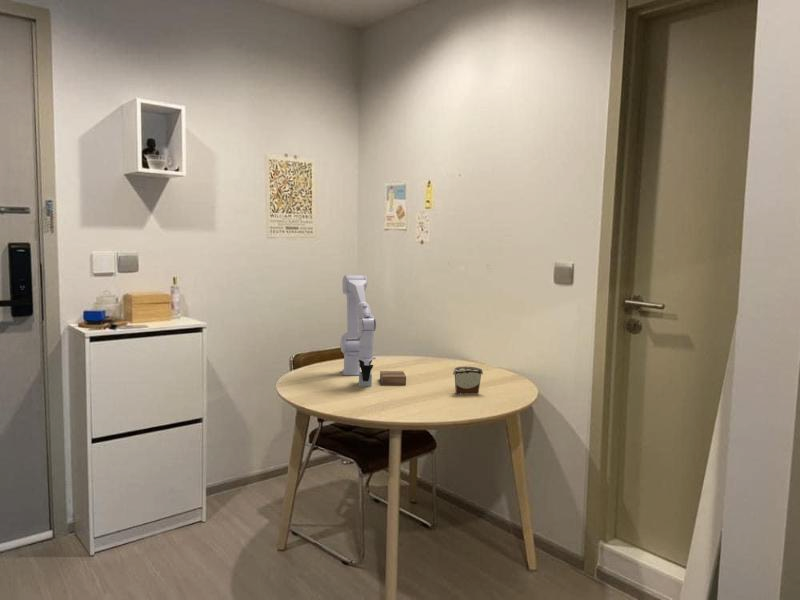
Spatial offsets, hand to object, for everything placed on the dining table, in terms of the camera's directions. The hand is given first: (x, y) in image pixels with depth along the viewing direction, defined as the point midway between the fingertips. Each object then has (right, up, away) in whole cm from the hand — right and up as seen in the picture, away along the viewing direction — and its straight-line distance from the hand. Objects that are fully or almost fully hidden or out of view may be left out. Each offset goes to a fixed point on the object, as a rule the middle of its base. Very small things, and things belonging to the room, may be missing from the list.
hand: (365, 378), depth 247 cm
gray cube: (0, -3, 0) cm, 3 cm away
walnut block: (+11, -3, +7) cm, 13 cm away
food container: (+41, -5, -5) cm, 41 cm away
